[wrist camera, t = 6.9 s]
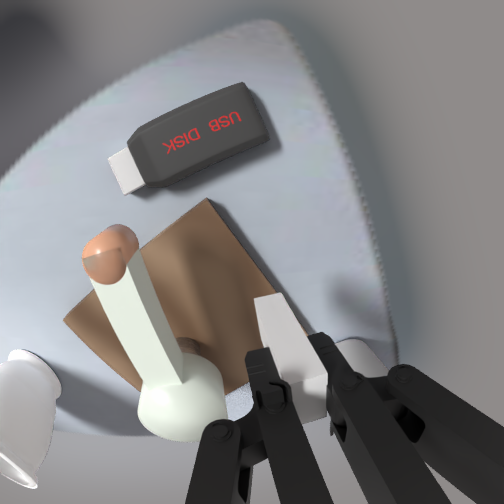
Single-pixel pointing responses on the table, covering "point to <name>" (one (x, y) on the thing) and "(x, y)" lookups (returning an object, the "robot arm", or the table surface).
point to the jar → (26, 415)
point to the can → (362, 358)
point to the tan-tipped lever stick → (152, 341)
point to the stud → (188, 345)
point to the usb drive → (190, 139)
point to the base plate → (190, 297)
